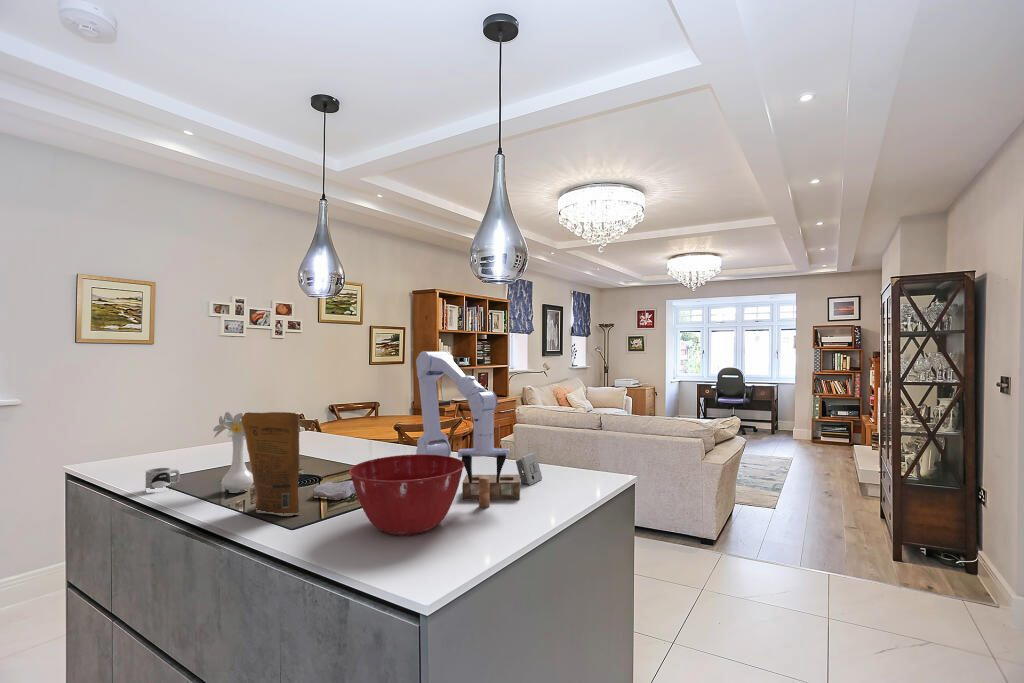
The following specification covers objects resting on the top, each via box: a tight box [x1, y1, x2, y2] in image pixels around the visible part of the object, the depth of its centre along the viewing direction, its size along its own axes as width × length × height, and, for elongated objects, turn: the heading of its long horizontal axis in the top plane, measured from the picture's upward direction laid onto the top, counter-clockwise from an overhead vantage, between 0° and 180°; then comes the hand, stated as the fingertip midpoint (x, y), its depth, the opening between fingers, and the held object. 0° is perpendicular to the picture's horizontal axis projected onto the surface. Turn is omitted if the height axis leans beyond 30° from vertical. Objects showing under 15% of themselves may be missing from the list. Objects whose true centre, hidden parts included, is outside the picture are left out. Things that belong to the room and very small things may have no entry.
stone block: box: [312, 480, 356, 498], centre depth 163 cm, size 12×5×10 cm
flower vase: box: [212, 411, 254, 491], centre depth 170 cm, size 13×18×25 cm
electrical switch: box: [515, 452, 543, 486], centre depth 179 cm, size 9×5×9 cm, turn 152°
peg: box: [478, 477, 491, 509], centre depth 151 cm, size 3×3×8 cm
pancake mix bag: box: [240, 411, 301, 514], centre depth 146 cm, size 7×19×28 cm, turn 66°
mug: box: [145, 467, 181, 489], centre depth 173 cm, size 10×7×7 cm, turn 150°
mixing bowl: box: [348, 454, 465, 536], centre depth 134 cm, size 28×28×16 cm
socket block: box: [461, 474, 521, 500], centre depth 163 cm, size 17×10×5 cm, turn 89°
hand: (484, 482), depth 151 cm, fingers open, 7 cm apart
